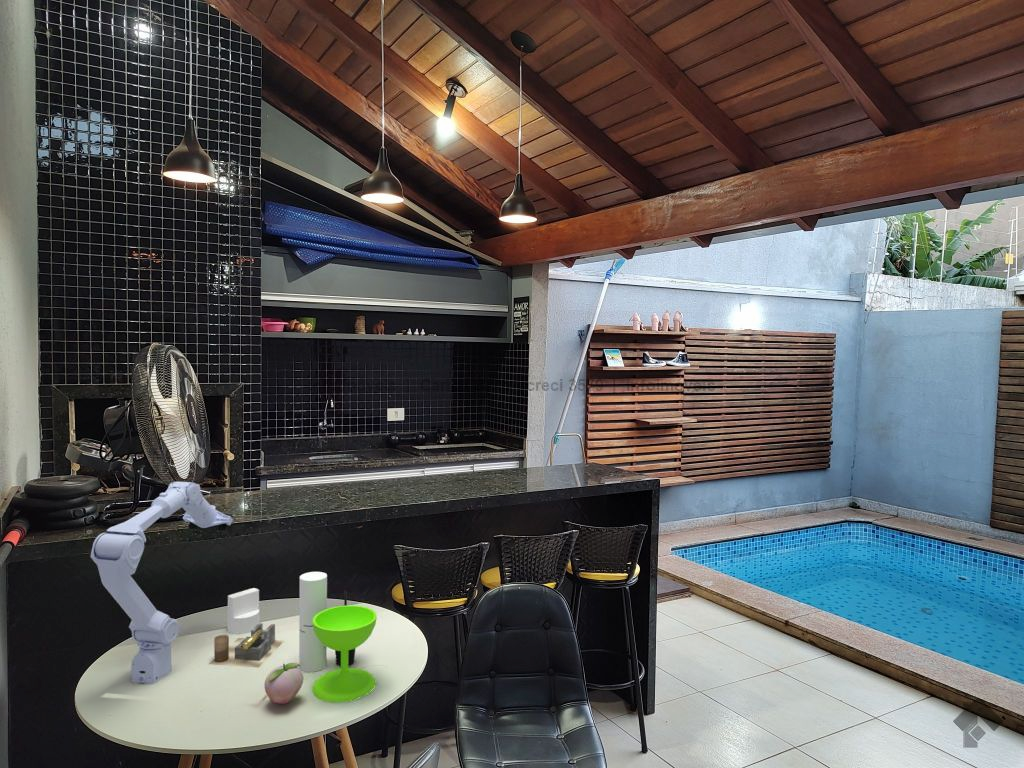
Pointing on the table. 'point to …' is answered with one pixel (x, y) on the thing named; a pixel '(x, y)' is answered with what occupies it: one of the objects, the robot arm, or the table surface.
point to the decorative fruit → (284, 683)
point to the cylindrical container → (311, 621)
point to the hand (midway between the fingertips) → (220, 532)
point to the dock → (252, 649)
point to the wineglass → (344, 651)
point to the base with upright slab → (243, 611)
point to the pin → (252, 640)
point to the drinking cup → (350, 652)
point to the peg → (221, 648)
